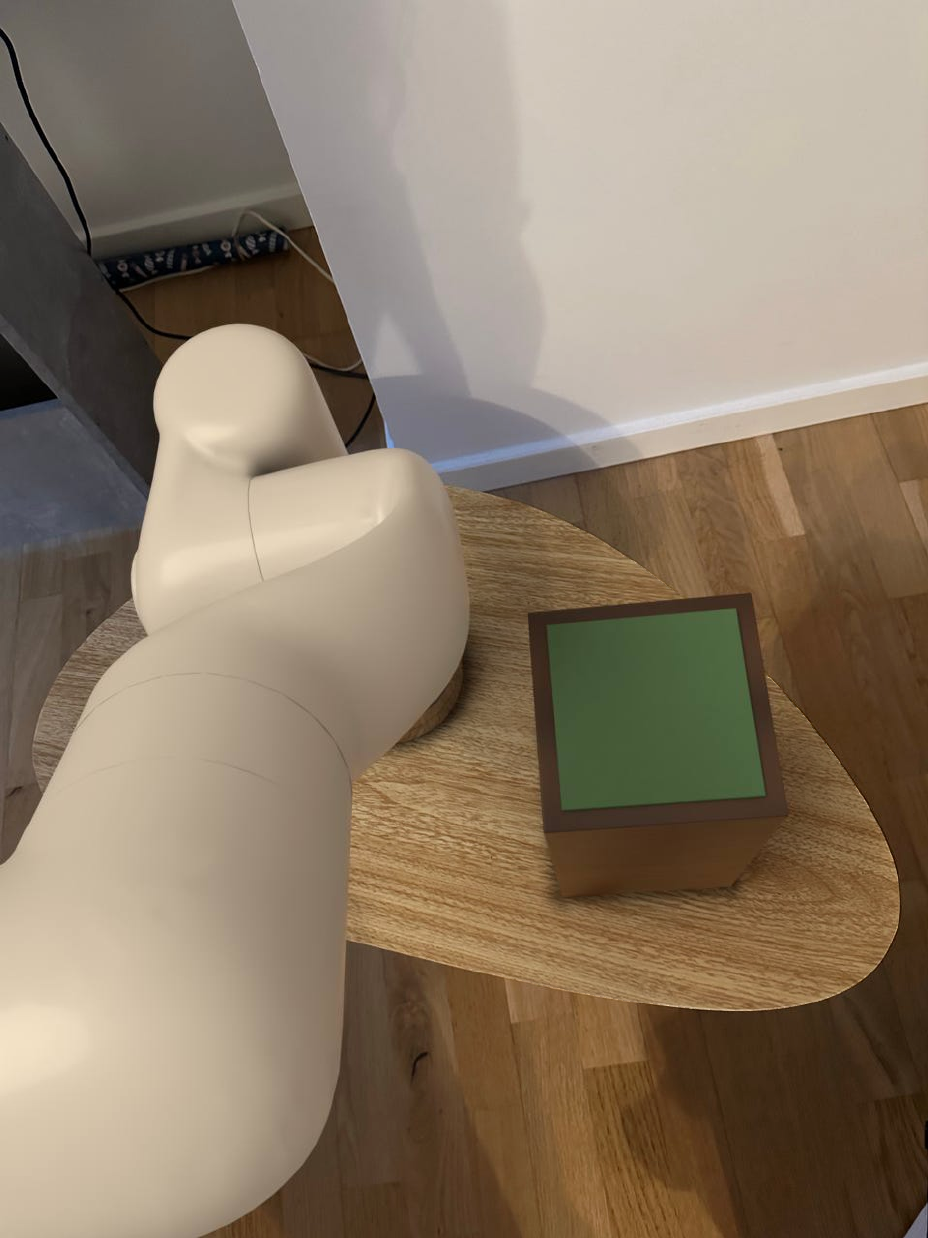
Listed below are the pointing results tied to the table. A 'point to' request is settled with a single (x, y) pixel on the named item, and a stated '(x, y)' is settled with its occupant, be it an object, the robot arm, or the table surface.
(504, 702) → the table surface
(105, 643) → the table surface
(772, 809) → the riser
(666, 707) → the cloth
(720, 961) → the table surface
